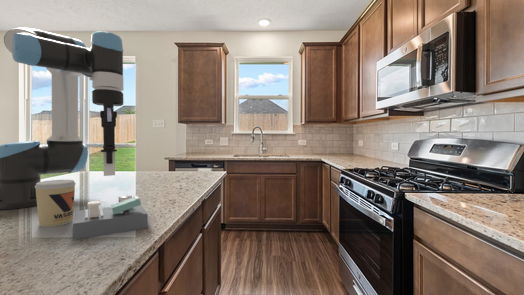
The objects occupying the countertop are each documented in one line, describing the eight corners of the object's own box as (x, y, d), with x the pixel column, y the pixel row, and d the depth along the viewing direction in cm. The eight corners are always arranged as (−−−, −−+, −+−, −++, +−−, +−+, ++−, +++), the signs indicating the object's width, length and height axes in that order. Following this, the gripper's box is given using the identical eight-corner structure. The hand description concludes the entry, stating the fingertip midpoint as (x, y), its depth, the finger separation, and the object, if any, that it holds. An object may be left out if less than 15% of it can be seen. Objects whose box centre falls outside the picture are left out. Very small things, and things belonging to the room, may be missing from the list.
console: (75, 225, 76) (75, 208, 76) (140, 216, 85) (140, 201, 85) (72, 239, 65) (72, 220, 65) (147, 227, 74) (147, 210, 74)
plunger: (118, 206, 80) (118, 196, 80) (131, 204, 82) (131, 195, 82) (119, 208, 77) (119, 198, 77) (132, 207, 79) (132, 197, 79)
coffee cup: (54, 229, 72) (53, 185, 72) (26, 226, 74) (25, 183, 74) (83, 219, 82) (83, 180, 81) (58, 217, 83) (57, 178, 83)
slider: (87, 215, 71) (87, 201, 71) (100, 213, 72) (100, 200, 72) (87, 218, 68) (87, 204, 68) (100, 216, 70) (100, 203, 70)
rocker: (112, 211, 74) (110, 204, 74) (139, 201, 78) (137, 195, 77) (113, 214, 71) (111, 207, 70) (141, 204, 74) (139, 197, 74)
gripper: (92, 93, 78) (93, 173, 78) (91, 84, 67) (93, 179, 67) (121, 95, 82) (122, 172, 82) (125, 87, 70) (126, 176, 71)
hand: (109, 175), depth 74 cm, fingers closed
